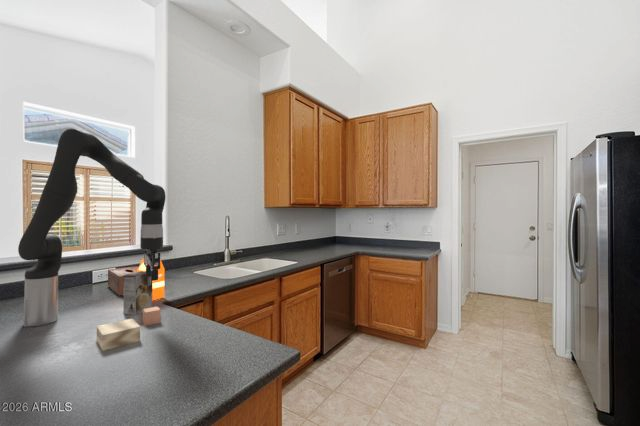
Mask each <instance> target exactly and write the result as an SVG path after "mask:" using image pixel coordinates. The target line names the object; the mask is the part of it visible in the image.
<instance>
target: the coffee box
mask: <svg viewBox="0 0 640 426" xmlns="http://www.w3.org/2000/svg"><path fill="white" fill-rule="evenodd" d="M123 289H124V290H123V292H124V295H123V314H124V315H125V314H126V315H139V314H141V313H143V309H146V308H151V307H154V306H153V304H154V303H153V302H154V301H153V299H152V280H151V277H146V271H140V272H136V273H131V274H127V275H123Z"/></svg>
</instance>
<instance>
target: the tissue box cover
mask: <svg viewBox="0 0 640 426" xmlns="http://www.w3.org/2000/svg"><path fill="white" fill-rule="evenodd" d="M138 268H139V266H135V265H134V266H128V267H127V266H126V267H119V268H108V269H107V287H108V286H109V287H110V288H111V289H112V290H111V289H110V288H109V287H108V288H109V289H110V290H111V291H112V292H114V291H115V292H116V293H117V294H116V293H115V292H114V293H115V294H116V295H118V296H119V297H121V296H120V295H122V296H124V292H123V290H124V289H123V275H127V274H131V273H136V272H137V270H138Z"/></svg>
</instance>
